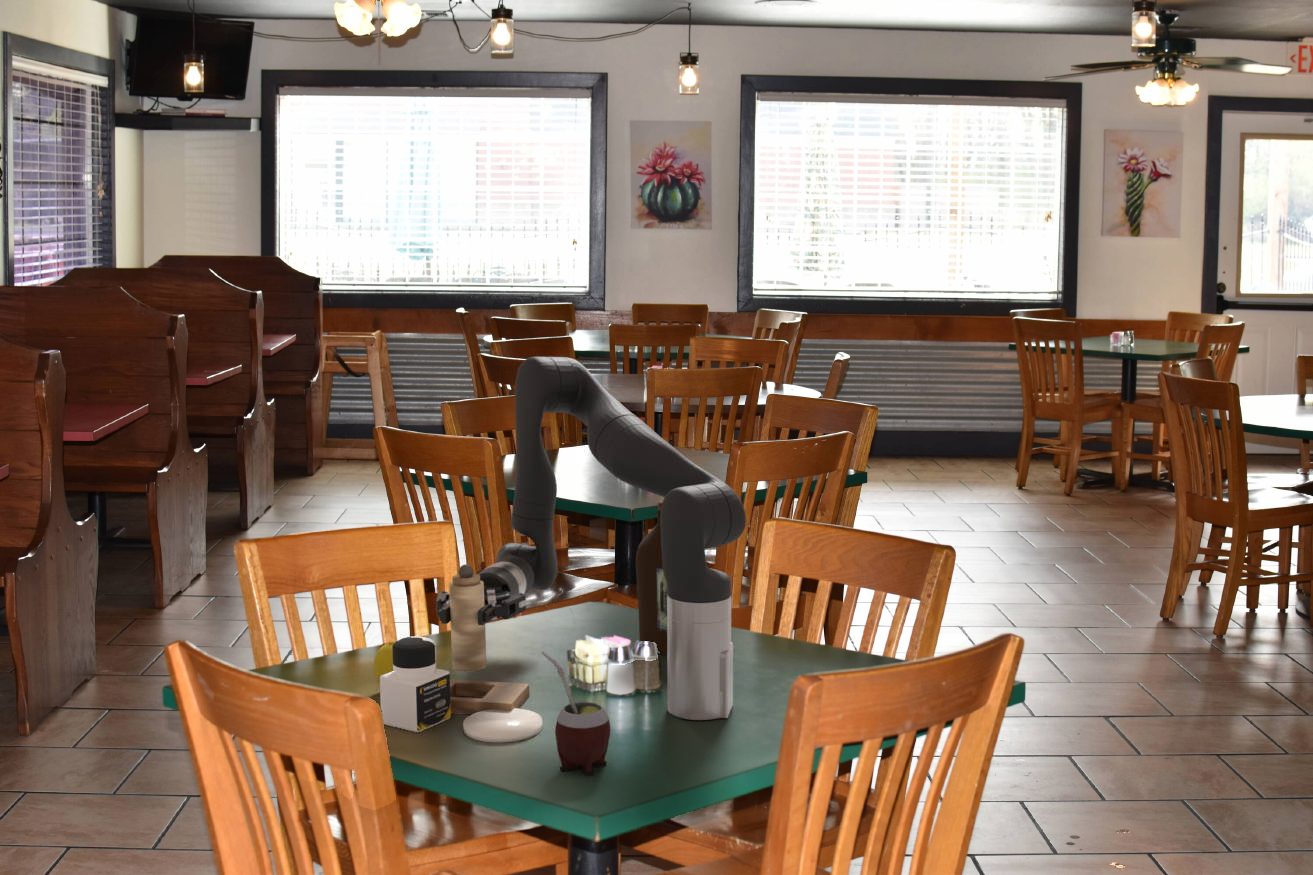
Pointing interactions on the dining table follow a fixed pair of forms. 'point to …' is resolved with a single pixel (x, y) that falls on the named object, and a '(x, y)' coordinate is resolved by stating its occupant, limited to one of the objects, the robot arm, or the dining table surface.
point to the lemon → (384, 661)
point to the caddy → (486, 696)
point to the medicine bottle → (415, 687)
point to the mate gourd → (581, 732)
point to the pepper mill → (467, 621)
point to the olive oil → (652, 588)
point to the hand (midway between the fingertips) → (462, 617)
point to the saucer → (502, 725)
